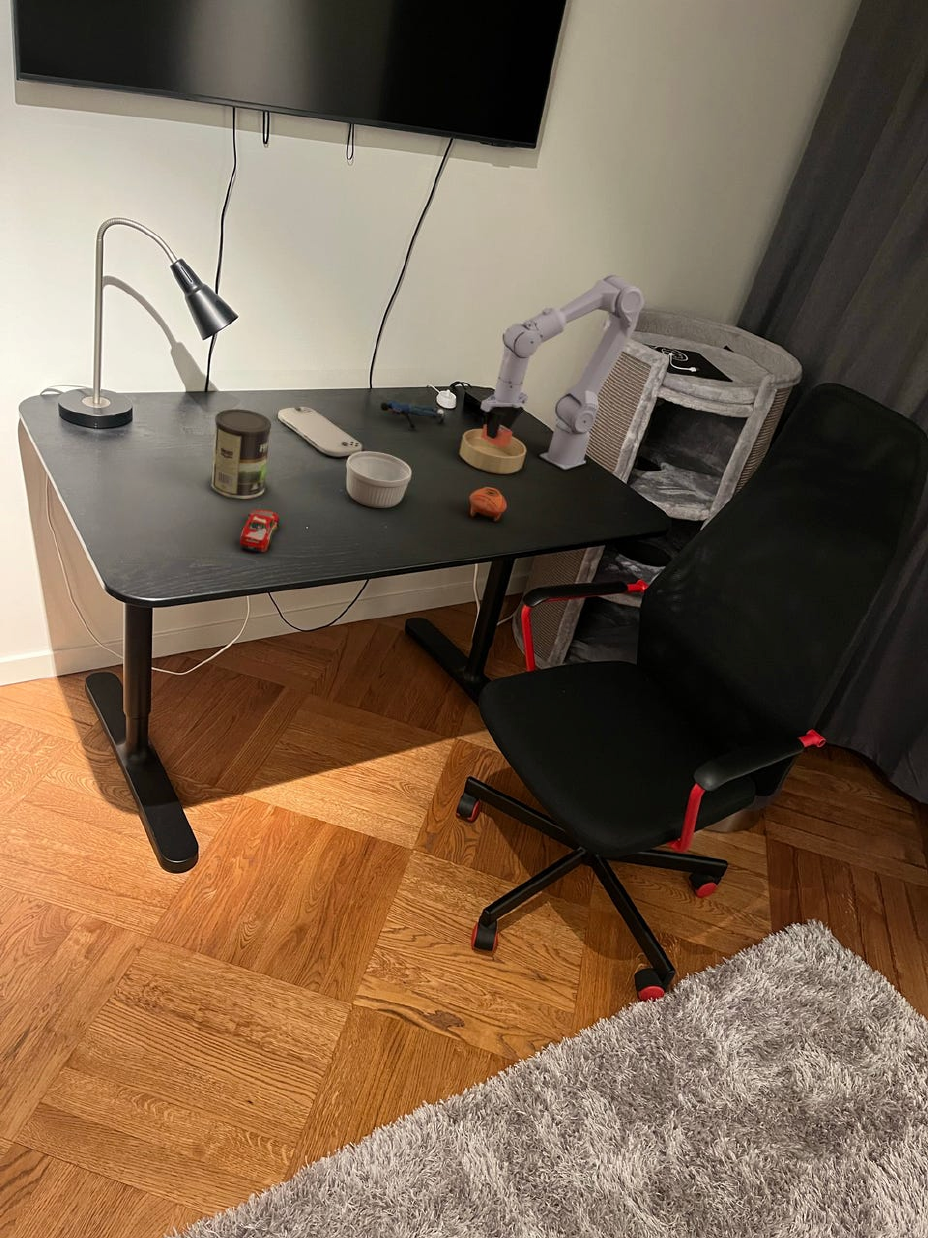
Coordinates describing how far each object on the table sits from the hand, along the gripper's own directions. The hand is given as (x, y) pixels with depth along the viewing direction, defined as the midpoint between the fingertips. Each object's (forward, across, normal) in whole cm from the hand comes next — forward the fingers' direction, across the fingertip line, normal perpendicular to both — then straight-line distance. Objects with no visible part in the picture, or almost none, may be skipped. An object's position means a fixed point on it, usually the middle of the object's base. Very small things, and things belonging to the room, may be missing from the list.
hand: (496, 435), depth 212 cm
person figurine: (+7, -3, +24) cm, 25 cm away
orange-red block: (+1, 0, 0) cm, 1 cm away
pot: (+7, -23, -18) cm, 30 cm away
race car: (+7, -70, -3) cm, 70 cm away
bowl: (+6, 0, 0) cm, 6 cm away
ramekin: (+7, -39, -1) cm, 40 cm away
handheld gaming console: (+7, -31, +26) cm, 41 cm away
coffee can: (+7, -62, +14) cm, 64 cm away
